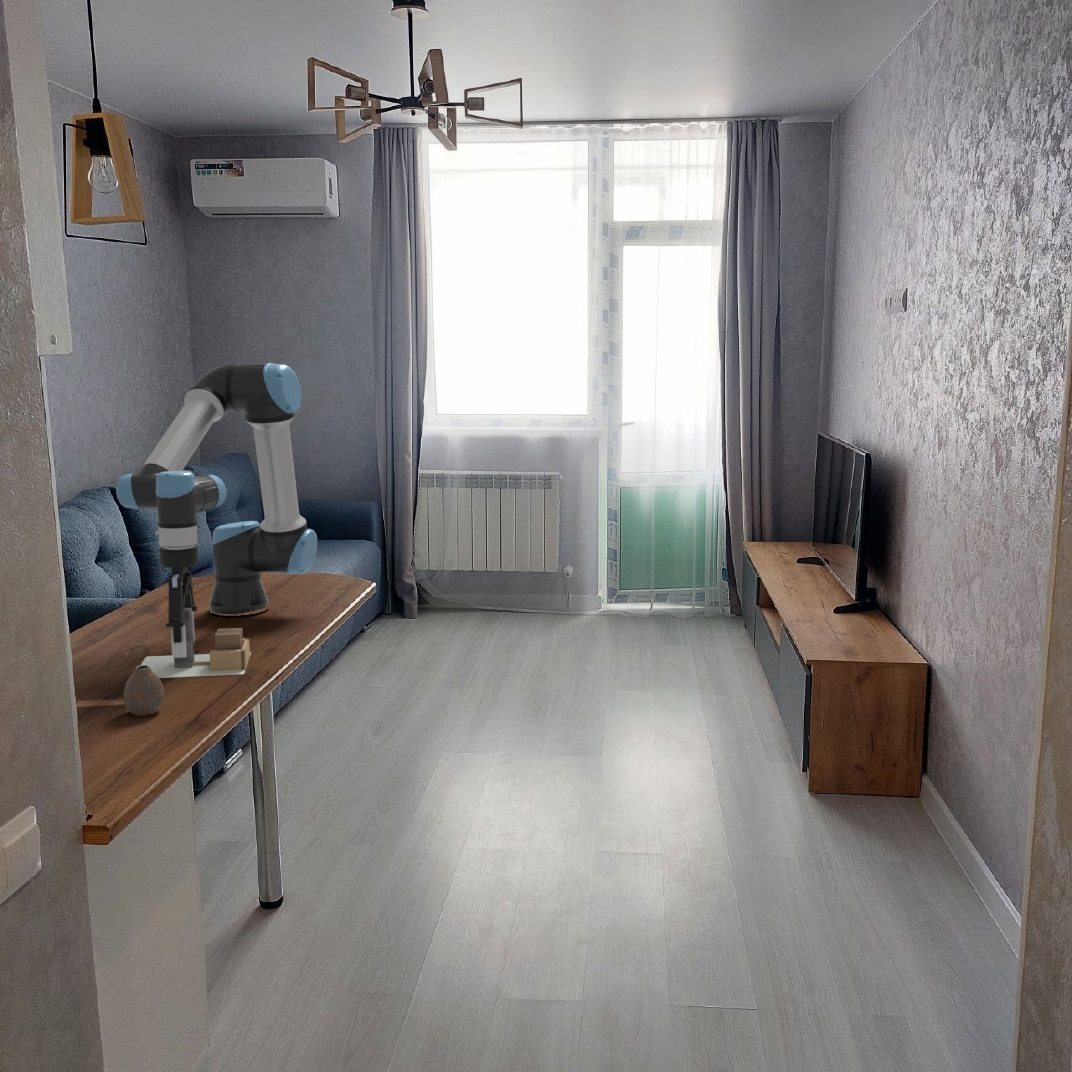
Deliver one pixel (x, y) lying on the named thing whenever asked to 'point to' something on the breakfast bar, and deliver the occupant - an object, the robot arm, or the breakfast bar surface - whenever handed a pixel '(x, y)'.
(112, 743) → the breakfast bar surface
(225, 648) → the tether block
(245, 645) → the white board with bracket
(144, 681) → the vase
